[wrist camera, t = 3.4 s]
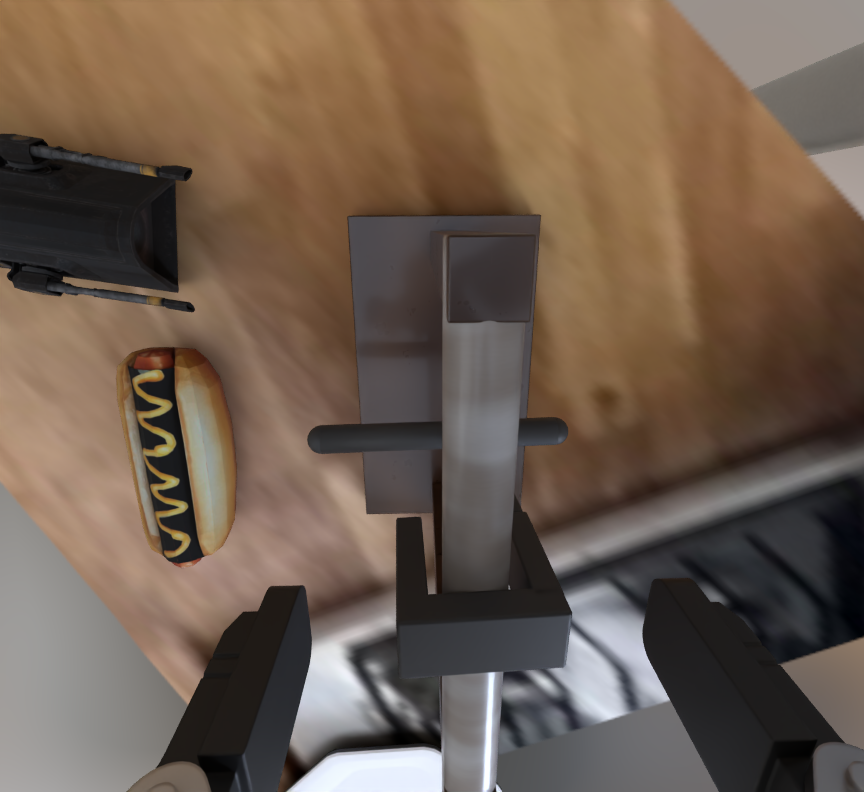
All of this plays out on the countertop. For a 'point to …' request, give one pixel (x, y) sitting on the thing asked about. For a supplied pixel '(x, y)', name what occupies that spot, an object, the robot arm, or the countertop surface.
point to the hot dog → (179, 450)
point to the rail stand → (450, 415)
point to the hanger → (469, 611)
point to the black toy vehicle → (87, 222)
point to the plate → (376, 770)
